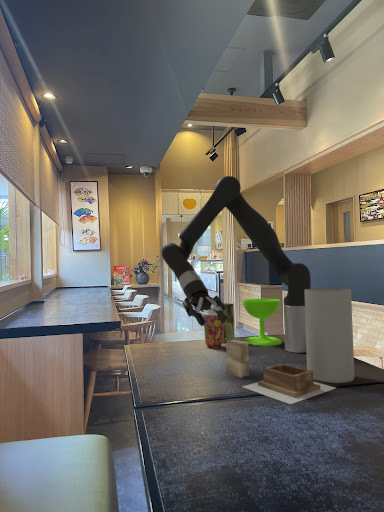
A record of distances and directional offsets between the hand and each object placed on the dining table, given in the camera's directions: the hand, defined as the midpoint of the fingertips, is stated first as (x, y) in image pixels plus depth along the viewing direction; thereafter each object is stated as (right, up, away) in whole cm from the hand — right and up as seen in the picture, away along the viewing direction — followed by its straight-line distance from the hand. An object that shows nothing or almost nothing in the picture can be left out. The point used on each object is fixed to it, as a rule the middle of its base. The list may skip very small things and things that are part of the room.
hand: (214, 323), depth 115 cm
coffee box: (+7, -16, +45) cm, 49 cm away
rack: (+18, -13, -22) cm, 31 cm away
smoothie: (+2, -16, +32) cm, 35 cm away
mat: (+18, -13, -22) cm, 31 cm away
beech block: (+6, -14, -9) cm, 18 cm away
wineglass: (+23, -16, +40) cm, 48 cm away
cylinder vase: (+32, -13, -13) cm, 37 cm away
